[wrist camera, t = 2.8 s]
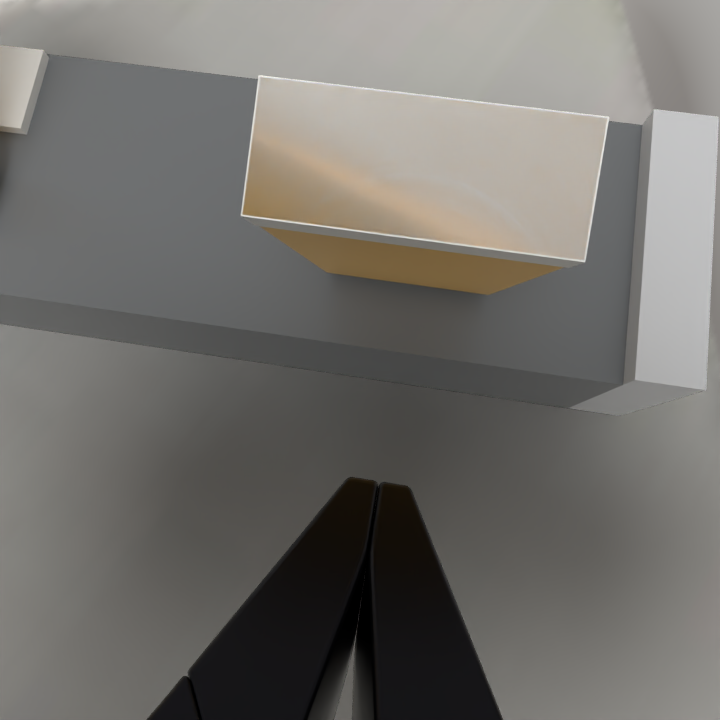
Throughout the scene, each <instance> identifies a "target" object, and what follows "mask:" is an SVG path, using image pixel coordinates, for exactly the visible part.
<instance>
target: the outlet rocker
mask: <svg viewBox="0 0 720 720" xmlns="http://www.w3.org/2000/svg"><path fill="white" fill-rule="evenodd" d="M608 122H609V117H606V116H598V115H590V114H581V113H573V112H564V111H556V110H548V109H539V108H531V107H522V106H514V105H506V104H497V103H489V102H480V101H472V100H463V99H455V98H447V97H438V96H430V95H421V94H413V93H405V92H396V91H388V90H379V89H371V88H363V87H354V86H346V85H337V84H329V83H320V82H312V81H304V80H295V79H287V78H278V77H270V76H262V75H259V76H258V84H257V92H256V100H255V108H254V115H253V123H252V131H251V139H250V147H249V154H248V162H247V170H246V178H245V186H244V193H243V201H242V209H241V217H243V218H244V219H246V220H247V221H249V222H250V223H252V224H253V225H255V226H260V227H261V228H263V229H264V230H266V231H267V232H268V233H270V234H271V235H273V236H274V237H276V238H277V239H279V240H280V241H282V242H283V243H284V244H286V245H287V246H289V247H290V248H292V249H293V250H295V251H296V252H298V253H299V254H301V255H302V256H303V257H305V258H306V259H308V260H309V261H311V262H312V263H314V264H315V265H317V266H318V267H319V268H321V269H322V270H324V271H325V272H327V273H333V274H340V275H348V276H355V277H362V278H369V279H377V280H384V281H391V282H398V283H405V284H413V285H420V286H427V287H434V288H441V289H449V290H456V291H463V292H470V293H478V294H485V295H490V294H493V293H495V292H498V291H501V290H504V289H506V288H509V287H512V286H515V285H517V284H520V283H523V282H526V281H528V280H531V279H534V278H537V277H539V276H542V275H545V274H548V273H550V272H553V271H556V270H559V269H561V268H564V267H565V268H570V267H573V266H576V265H579V264H582V263H585V261H586V255H587V249H588V243H589V237H590V231H591V225H592V219H593V213H594V207H595V201H596V195H597V189H598V182H599V176H600V170H601V164H602V158H603V152H604V146H605V140H606V134H607V128H608Z"/></svg>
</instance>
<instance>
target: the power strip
mask: <svg viewBox="0 0 720 720" xmlns="http://www.w3.org/2000/svg"><path fill="white" fill-rule="evenodd" d="M257 84H258V79H252V78H243V77H235V76H226V75H218V74H210V73H201V72H193V71H185V70H176V69H168V68H159V67H151V66H143V65H134V64H126V63H117V62H109V61H101V60H92V59H84V58H76V57H67V56H59V55H50V54H46V53H45V51H44V50H38V49H30V48H21V47H13V46H5V45H0V324H5V325H12V326H18V327H25V328H32V329H39V330H45V331H52V332H59V333H65V334H72V335H79V336H86V337H92V338H99V339H106V340H112V341H119V342H126V343H133V344H139V345H146V346H153V347H160V348H166V349H173V350H180V351H186V352H193V353H200V354H207V355H213V356H220V357H227V358H233V359H240V360H247V361H254V362H260V363H267V364H274V365H280V366H287V367H294V368H301V369H307V370H314V371H321V372H327V373H334V374H341V375H348V376H354V377H361V378H368V379H374V380H381V381H388V382H395V383H401V384H408V385H415V386H421V387H428V388H435V389H442V390H448V391H455V392H462V393H468V394H475V395H482V396H489V397H495V398H502V399H509V400H515V401H522V402H529V403H536V404H542V405H549V406H556V407H562V408H569V409H576V410H583V411H589V412H596V413H603V414H609V415H616V416H621V415H625V414H628V413H631V412H635V411H638V410H641V409H645V408H648V407H652V406H655V405H658V404H662V403H665V402H668V401H672V400H675V399H678V398H682V397H685V396H689V395H692V394H695V393H699V392H702V391H705V390H706V383H707V362H708V340H709V319H710V296H711V295H710V294H711V276H712V254H713V232H714V211H715V189H716V168H717V145H718V125H719V117H716V116H708V115H699V114H691V113H682V112H673V111H664V110H657V109H654V110H653V111H652V112H651V114H650V115H649V117H648V118H647V119H646V121H645V122H644V123H643V125H637V124H629V123H620V122H612V121H609V122H608V128H607V134H606V140H605V146H604V152H603V158H602V164H601V170H600V176H599V182H598V189H597V195H596V201H595V207H594V213H593V219H592V225H591V231H590V237H589V243H588V249H587V255H586V261H585V263H582V264H579V265H576V266H573V267H570V268H565V267H564V268H561V269H559V270H556V271H553V272H550V273H548V274H545V275H542V276H539V277H537V278H534V279H531V280H528V281H526V282H523V283H520V284H517V285H515V286H512V287H509V288H506V289H504V290H501V291H498V292H495V293H493V294H490V295H485V294H478V293H470V292H463V291H456V290H449V289H441V288H434V287H427V286H420V285H413V284H405V283H398V282H391V281H384V280H377V279H369V278H362V277H355V276H348V275H340V274H333V273H327V272H325V271H324V270H322V269H321V268H319V267H318V266H317V265H315V264H314V263H312V262H311V261H309V260H308V259H306V258H305V257H303V256H302V255H301V254H299V253H298V252H296V251H295V250H293V249H292V248H290V247H289V246H287V245H286V244H284V243H283V242H282V241H280V240H279V239H277V238H276V237H274V236H273V235H271V234H270V233H268V232H267V231H266V230H264V229H263V228H261V227H260V226H255V225H253V224H252V223H250V222H249V221H247V220H246V219H244V218H243V217H241V209H242V201H243V193H244V186H245V178H246V170H247V162H248V154H249V147H250V139H251V131H252V123H253V115H254V108H255V100H256V92H257Z"/></svg>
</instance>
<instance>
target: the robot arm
mask: <svg viewBox="0 0 720 720" xmlns="http://www.w3.org/2000/svg"><path fill="white" fill-rule="evenodd" d="M377 491H378V493H377ZM376 498H377V500H376ZM375 505H376V506H375ZM373 518H374V519H373ZM365 571H366V572H365ZM364 578H365V579H364ZM363 584H364V585H363ZM362 591H363V592H362ZM361 598H362V599H361ZM360 604H361V606H360ZM359 611H360V613H359ZM358 617H359V620H358ZM357 624H358V626H357ZM356 630H357V634H356ZM355 636H356V642H355V654H354V674H353V705H352V720H503V718H502V715H501V713H500V710H499V708H498V705H497V703H496V700H495V698H494V695H493V693H492V690H491V688H490V685H489V683H488V680H487V678H486V675H485V673H484V670H483V668H482V665H481V663H480V660H479V658H478V655H477V653H476V650H475V648H474V645H473V643H472V640H471V638H470V635H469V633H468V630H467V628H466V625H465V623H464V620H463V618H462V615H461V613H460V610H459V608H458V605H457V603H456V600H455V598H454V595H453V593H452V590H451V588H450V585H449V583H448V580H447V578H446V575H445V573H444V570H443V568H442V565H441V563H440V560H439V558H438V555H437V553H436V550H435V548H434V545H433V543H432V540H431V538H430V535H429V533H428V530H427V528H426V525H425V523H424V520H423V518H422V515H421V513H420V510H419V508H418V505H417V503H416V500H415V498H414V495H413V493H412V491H411V489H410V488H409V487H408V486H405V485H399V484H392V483H386V482H383V483H381V484H380V485H379V487H378V484H377V482H376V481H374V480H368V479H362V478H355V477H350V478H348V479H346V480H345V481H344V482H343V484H342V485H341V486H340V487H339V488H338V490H337V491H336V492H335V493H334V495H333V496H332V497H331V498H330V499H329V501H328V502H327V503H326V504H325V505H324V507H323V508H322V509H321V510H320V511H319V513H318V514H317V515H316V516H315V518H314V519H313V520H312V521H311V522H310V524H309V525H308V526H307V527H306V528H305V530H304V531H303V532H302V533H301V534H300V536H299V537H298V538H297V539H296V541H295V542H294V543H293V544H292V545H291V547H290V548H289V549H288V550H287V551H286V553H285V554H284V555H283V556H282V557H281V559H280V560H279V561H278V562H277V564H276V565H275V566H274V567H273V568H272V570H271V571H270V572H269V573H268V574H267V576H266V577H265V578H264V579H263V580H262V582H261V583H260V584H259V585H258V587H257V588H256V589H255V590H254V591H253V593H252V594H251V595H250V596H249V597H248V599H247V600H246V601H245V602H244V603H243V605H242V606H241V607H240V608H239V610H238V611H237V612H236V613H235V614H234V616H233V617H232V618H231V619H230V620H229V622H228V623H227V624H226V625H225V626H224V628H223V629H222V630H221V631H220V633H219V634H218V635H217V636H216V637H215V639H214V640H213V641H212V642H211V643H210V645H209V646H208V647H207V648H206V649H205V651H204V652H203V653H202V654H201V656H200V657H199V658H198V659H197V660H196V662H195V663H194V664H193V665H192V666H191V668H190V669H189V670H188V677H187V676H183V677H182V678H181V679H180V680H179V682H178V683H177V684H176V685H175V687H174V688H173V689H172V690H171V691H170V693H169V694H168V695H167V696H166V697H165V699H164V700H163V701H162V702H161V703H160V705H159V706H158V707H157V708H156V709H155V710H154V712H153V713H152V714H151V715H150V716H149V717H148V718H147V720H334V717H335V714H336V710H337V706H338V703H339V699H340V696H341V692H342V688H343V685H344V681H345V678H346V674H347V670H348V667H349V663H350V659H351V655H352V651H353V646H354V641H355Z"/></svg>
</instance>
